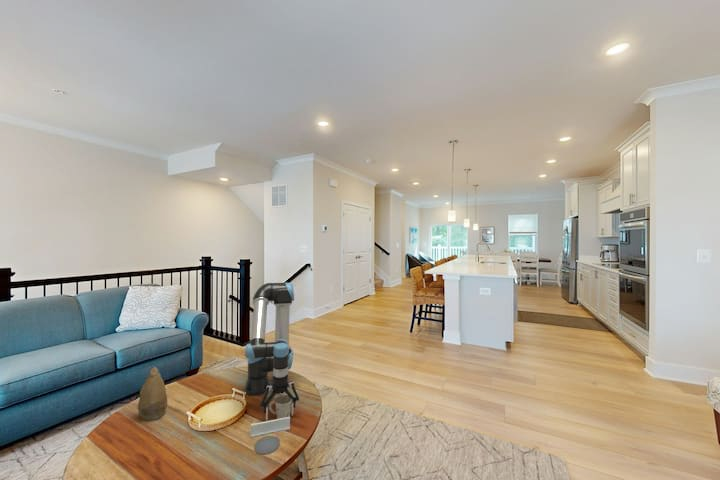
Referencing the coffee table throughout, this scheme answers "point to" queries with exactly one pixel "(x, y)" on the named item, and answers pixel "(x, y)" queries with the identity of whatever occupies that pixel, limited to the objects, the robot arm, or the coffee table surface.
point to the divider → (270, 426)
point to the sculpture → (153, 396)
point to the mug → (282, 406)
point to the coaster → (267, 445)
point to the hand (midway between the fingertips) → (279, 416)
